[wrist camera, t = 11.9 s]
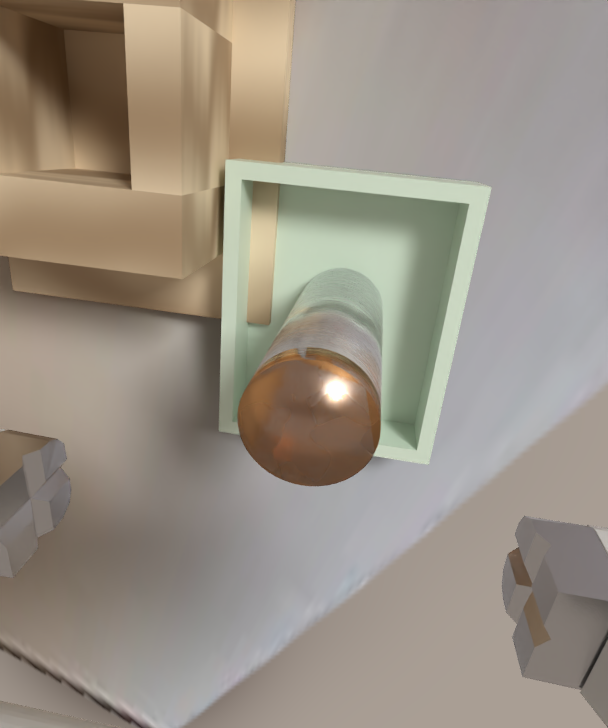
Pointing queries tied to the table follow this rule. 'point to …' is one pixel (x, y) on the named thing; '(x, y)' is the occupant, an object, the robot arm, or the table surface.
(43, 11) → the block
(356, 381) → the steel pin
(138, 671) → the table surface
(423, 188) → the tray
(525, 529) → the robot arm
